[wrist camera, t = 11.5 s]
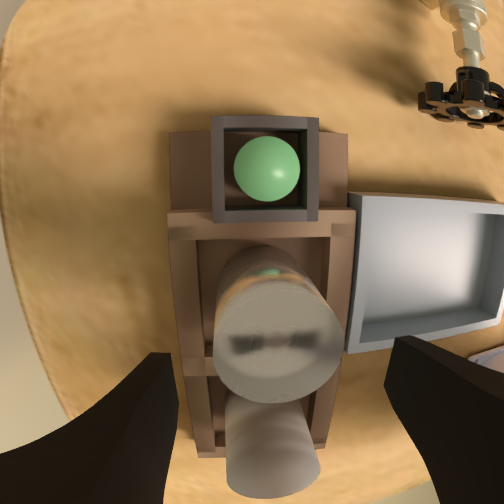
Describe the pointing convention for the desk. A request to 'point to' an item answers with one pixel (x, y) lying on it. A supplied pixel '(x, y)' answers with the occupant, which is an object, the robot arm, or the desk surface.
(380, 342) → the tote
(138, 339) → the desk surface
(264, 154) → the button
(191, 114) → the desk surface
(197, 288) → the brown compartment tray
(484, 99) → the valve
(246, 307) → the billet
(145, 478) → the robot arm
